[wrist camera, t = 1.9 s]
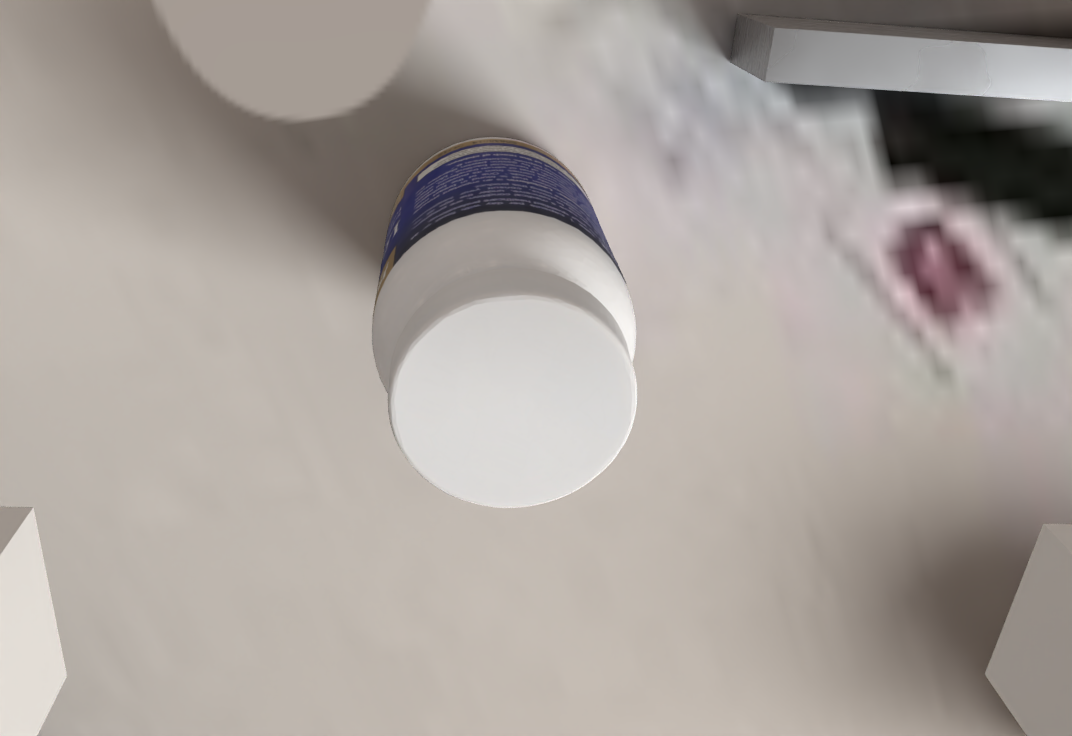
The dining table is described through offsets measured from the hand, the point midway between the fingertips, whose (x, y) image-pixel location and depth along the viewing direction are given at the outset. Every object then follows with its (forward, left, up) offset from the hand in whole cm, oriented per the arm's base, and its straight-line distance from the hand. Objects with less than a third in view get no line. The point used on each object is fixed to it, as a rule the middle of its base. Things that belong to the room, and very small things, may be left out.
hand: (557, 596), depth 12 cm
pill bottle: (0, 0, -16) cm, 16 cm away
